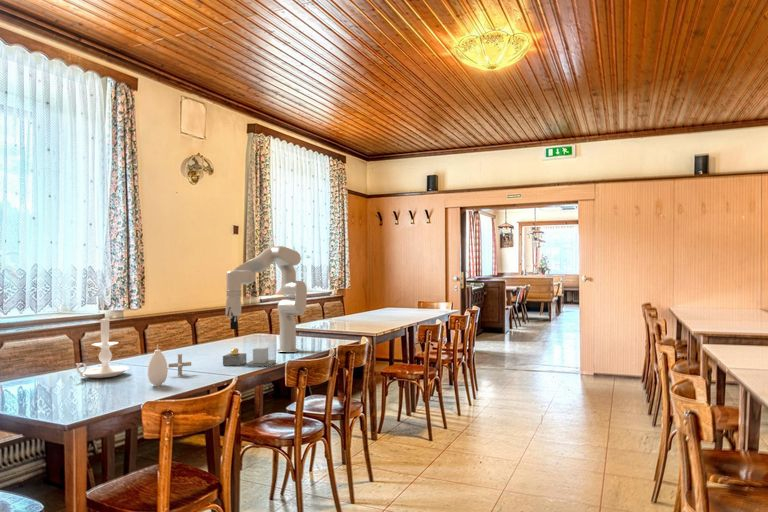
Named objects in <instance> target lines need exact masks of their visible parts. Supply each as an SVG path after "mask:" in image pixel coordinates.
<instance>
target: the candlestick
mask: <svg viewBox="0 0 768 512" xmlns="http://www.w3.org/2000/svg"><path fill="white" fill-rule="evenodd" d="M109 338H111V337H110V317H108V318H102V319H101V318H100V340H101V342H94V343H91V346H95V347H98V348H100V351H99V353H98V356H97V357H98V359H99V361H100V363H102V365H101V366H97V367H91V368H88V366H87V364H86V363H84V362H80V363H77V362H76V363H75V365H76V372H77V373H78V374H79V376H80V378H86V377H88V378H93V379H107V378H112V377H116V376H119V375H122V374H124V373H125V372H126V371H128V370H129V369H130V367H129V366H126V365H109V362H110V361H111V359H112V358H113V353H112V352H111V350H110V348H111V347H113V346H115V345H117V344H119V341H109ZM82 365H83V366H84V369H83V370H81V371H80V366H82Z"/></svg>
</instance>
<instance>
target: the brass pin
mask: <svg viewBox="0 0 768 512" xmlns="http://www.w3.org/2000/svg"><path fill="white" fill-rule="evenodd" d="M230 353H231V355H238V353H239V348H231V349H230Z"/></svg>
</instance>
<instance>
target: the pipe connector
mask: <svg viewBox="0 0 768 512" xmlns="http://www.w3.org/2000/svg"><path fill="white" fill-rule="evenodd" d="M190 366H192V361H185V362H183V354H182V353H178V354H177V362H172V363H167V368H177V376H178V375H182V376H183V367H190Z"/></svg>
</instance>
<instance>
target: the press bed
mask: <svg viewBox="0 0 768 512" xmlns="http://www.w3.org/2000/svg"><path fill="white" fill-rule="evenodd" d="M276 361H277V360H276V359H268V361H267V362H265V363H253V360H250V361H249V362H246V363H245V364H244V367H245V366H269V365H271V364H273V363H275V362H276ZM275 364H276V363H275ZM273 365H274V364H273ZM271 366H272V365H271ZM269 367H270V366H269Z"/></svg>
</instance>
